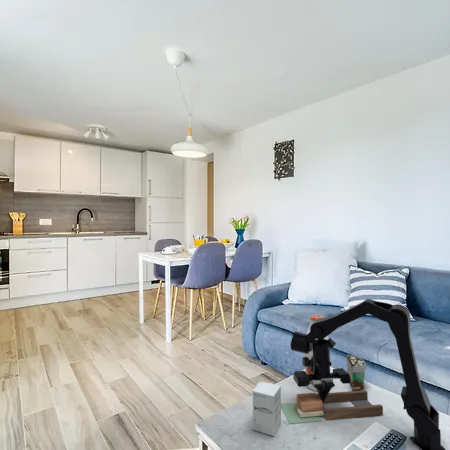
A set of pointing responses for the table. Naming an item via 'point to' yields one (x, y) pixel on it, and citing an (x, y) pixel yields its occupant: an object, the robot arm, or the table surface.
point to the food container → (356, 372)
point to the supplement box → (267, 408)
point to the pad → (296, 415)
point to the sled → (309, 405)
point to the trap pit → (361, 403)
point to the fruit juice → (310, 354)
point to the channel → (350, 411)
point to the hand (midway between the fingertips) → (322, 401)
